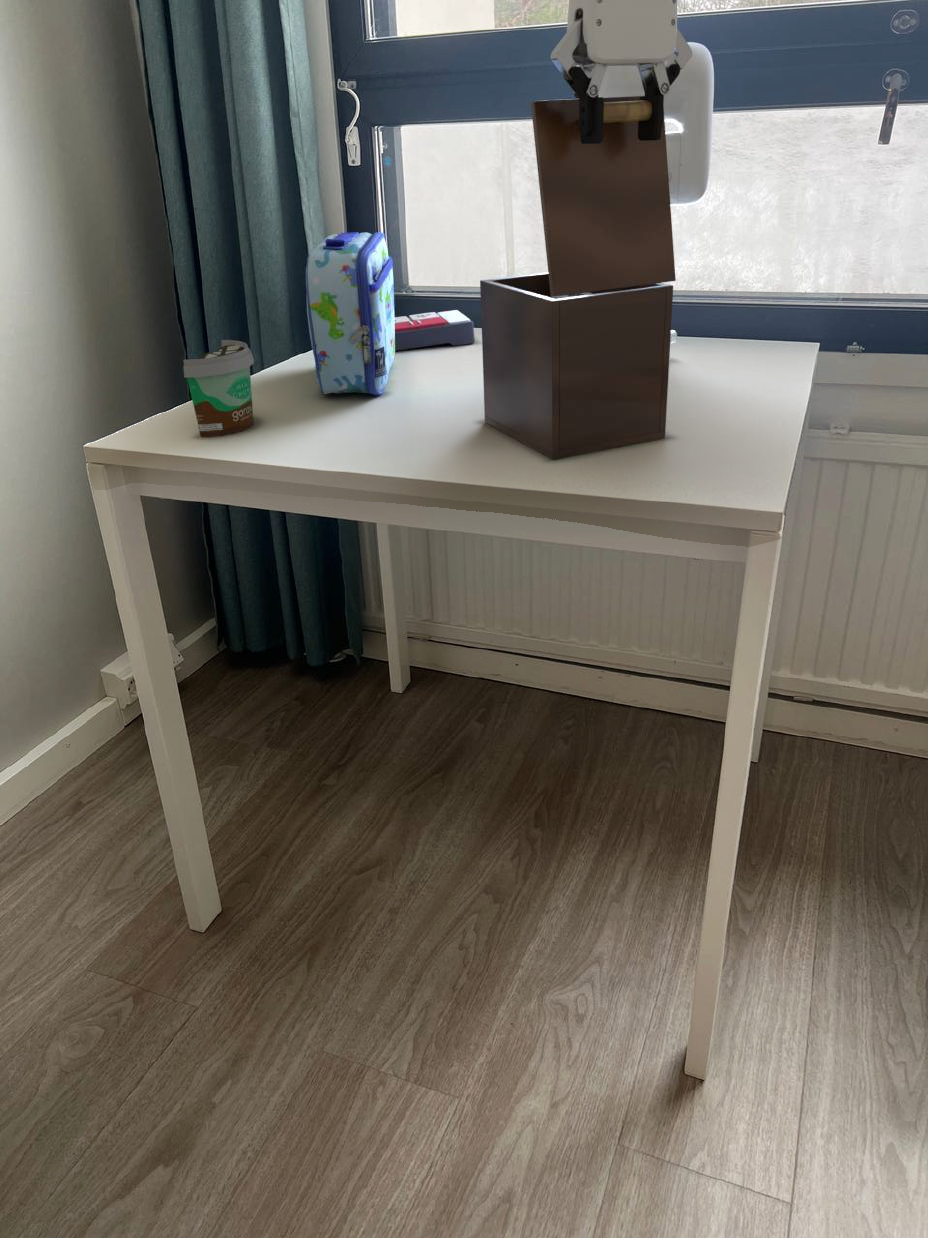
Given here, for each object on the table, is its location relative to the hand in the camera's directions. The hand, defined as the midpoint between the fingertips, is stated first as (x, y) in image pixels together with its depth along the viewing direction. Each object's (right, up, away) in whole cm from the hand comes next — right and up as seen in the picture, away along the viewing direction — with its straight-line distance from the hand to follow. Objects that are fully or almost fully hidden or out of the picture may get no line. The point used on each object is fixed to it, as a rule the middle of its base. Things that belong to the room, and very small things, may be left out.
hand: (620, 139), depth 98 cm
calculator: (-22, 0, +72) cm, 76 cm away
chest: (-2, -25, +23) cm, 34 cm away
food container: (-45, -23, +30) cm, 59 cm away
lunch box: (-31, -12, +50) cm, 60 cm away
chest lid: (-1, -4, +5) cm, 6 cm away
